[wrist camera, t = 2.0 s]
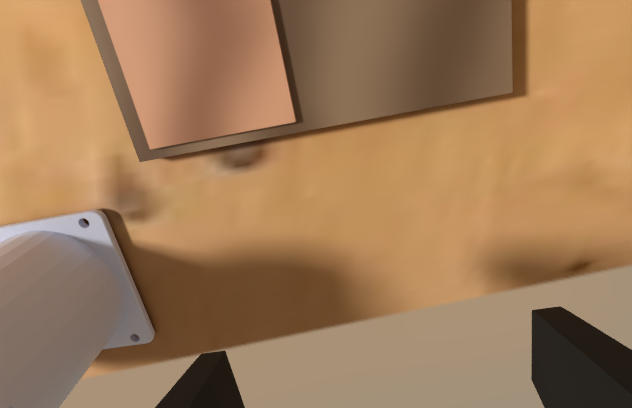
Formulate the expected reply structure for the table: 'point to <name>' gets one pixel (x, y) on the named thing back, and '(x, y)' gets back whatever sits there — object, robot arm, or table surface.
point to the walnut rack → (291, 64)
